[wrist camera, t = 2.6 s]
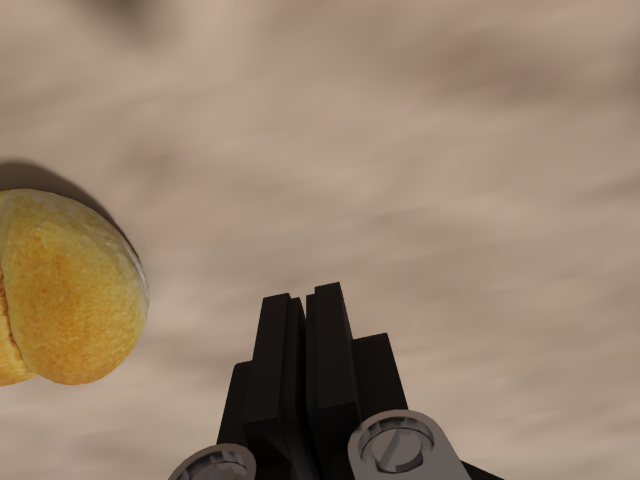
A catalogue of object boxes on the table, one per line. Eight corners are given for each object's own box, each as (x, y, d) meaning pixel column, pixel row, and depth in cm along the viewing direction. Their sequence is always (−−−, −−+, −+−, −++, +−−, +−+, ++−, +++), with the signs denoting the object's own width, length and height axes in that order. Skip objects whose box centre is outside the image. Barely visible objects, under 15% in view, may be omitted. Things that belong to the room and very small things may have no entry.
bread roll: (161, 363, 23) (135, 422, 19) (-44, 362, 23) (-112, 422, 19) (147, 184, 20) (113, 212, 17) (-86, 179, 20) (-175, 207, 16)
